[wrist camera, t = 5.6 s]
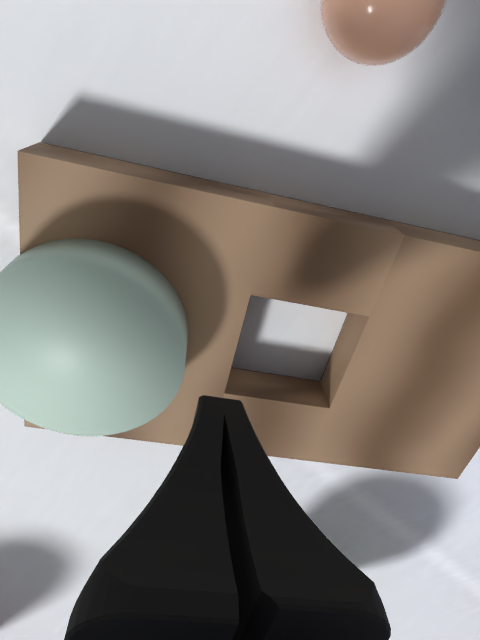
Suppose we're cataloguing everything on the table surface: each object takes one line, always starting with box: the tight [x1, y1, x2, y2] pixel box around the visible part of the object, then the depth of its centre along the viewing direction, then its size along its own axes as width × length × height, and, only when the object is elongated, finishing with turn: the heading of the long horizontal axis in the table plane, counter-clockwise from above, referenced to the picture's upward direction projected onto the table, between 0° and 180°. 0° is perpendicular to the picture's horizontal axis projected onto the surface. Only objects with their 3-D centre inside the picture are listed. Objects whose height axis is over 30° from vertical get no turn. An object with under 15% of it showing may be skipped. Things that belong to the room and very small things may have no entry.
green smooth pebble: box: [0, 239, 188, 436], centre depth 16 cm, size 8×8×2 cm
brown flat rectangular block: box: [18, 142, 480, 479], centre depth 19 cm, size 22×12×2 cm, turn 77°
